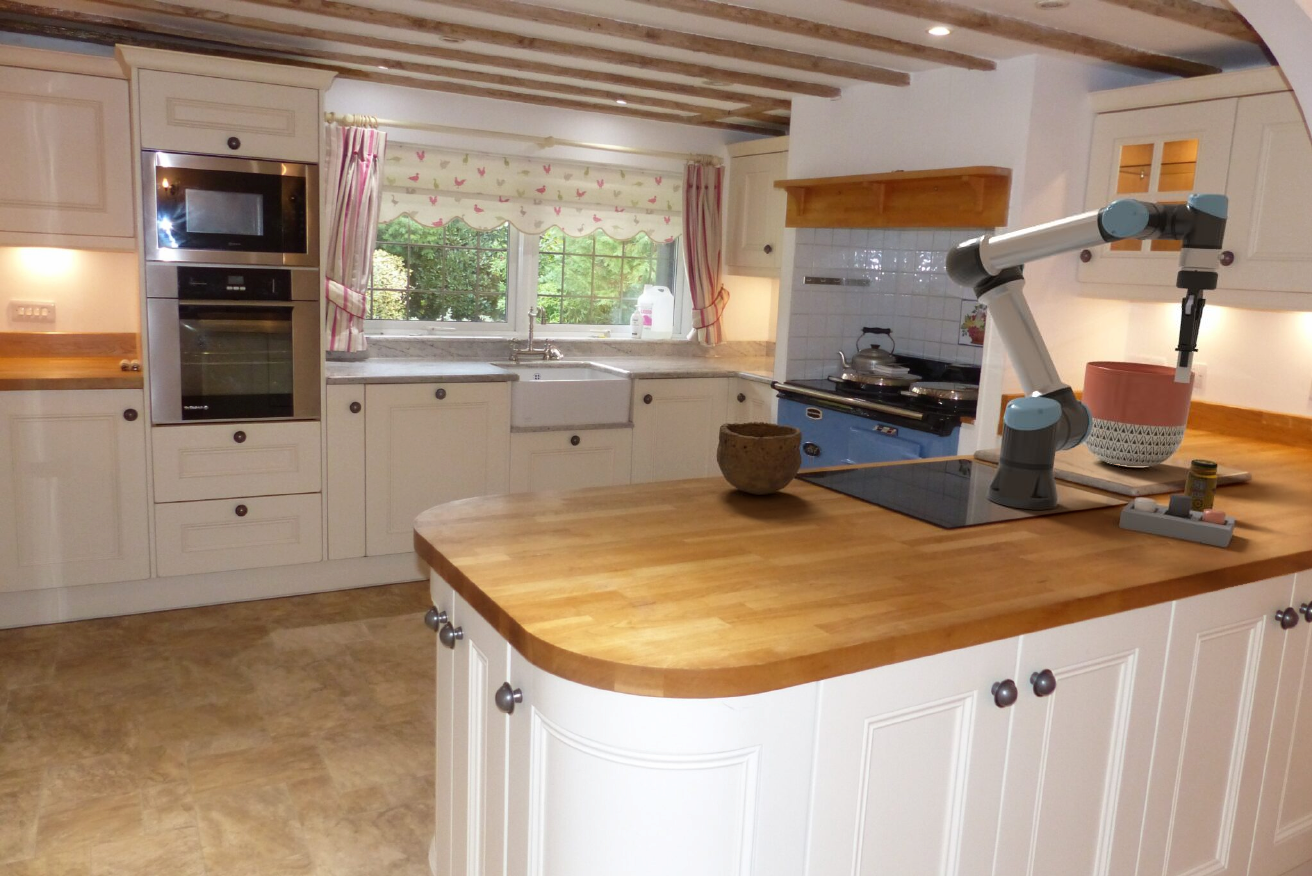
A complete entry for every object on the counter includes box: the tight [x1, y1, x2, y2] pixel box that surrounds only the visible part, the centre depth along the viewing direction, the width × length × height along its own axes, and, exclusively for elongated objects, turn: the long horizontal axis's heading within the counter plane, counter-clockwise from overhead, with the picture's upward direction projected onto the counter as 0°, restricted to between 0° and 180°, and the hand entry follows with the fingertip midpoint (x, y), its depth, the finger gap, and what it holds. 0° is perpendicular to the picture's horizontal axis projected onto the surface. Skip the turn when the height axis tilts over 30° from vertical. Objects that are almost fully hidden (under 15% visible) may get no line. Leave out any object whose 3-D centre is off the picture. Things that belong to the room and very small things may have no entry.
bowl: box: [716, 421, 803, 496], centre depth 224 cm, size 19×19×15 cm
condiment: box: [1183, 459, 1219, 512], centre depth 226 cm, size 7×8×12 cm
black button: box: [1168, 493, 1192, 518], centre depth 210 cm, size 4×4×4 cm
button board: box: [1118, 499, 1236, 548], centre depth 211 cm, size 20×12×4 cm, turn 56°
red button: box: [1202, 508, 1227, 525], centre depth 207 cm, size 4×4×4 cm
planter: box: [1081, 360, 1196, 467], centre depth 273 cm, size 27×27×27 cm
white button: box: [1134, 496, 1157, 513], centre depth 214 cm, size 4×4×4 cm
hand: (1181, 382), depth 214 cm, fingers closed
